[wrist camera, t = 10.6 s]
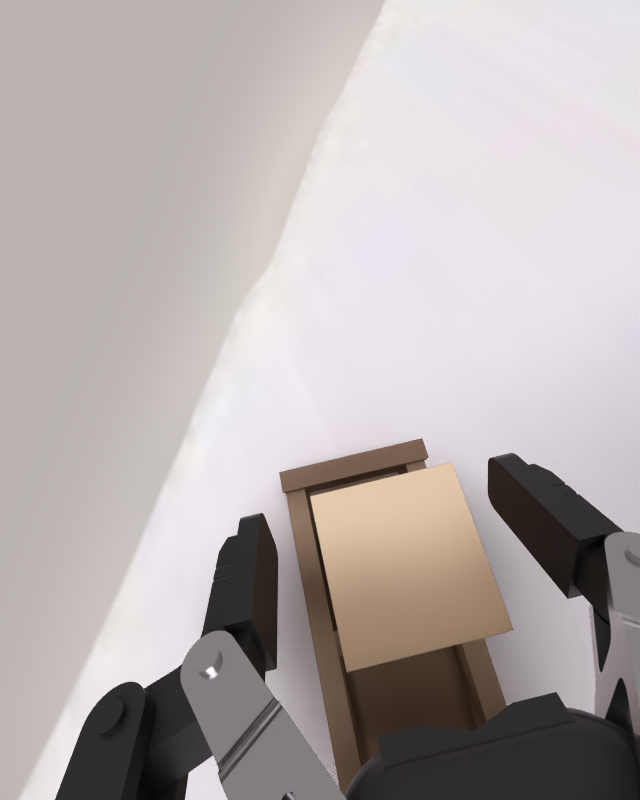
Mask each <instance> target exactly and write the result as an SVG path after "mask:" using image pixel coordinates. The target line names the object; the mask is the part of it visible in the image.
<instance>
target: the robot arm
mask: <svg viewBox="0 0 640 800" xmlns="http://www.w3.org/2000/svg"><path fill="white" fill-rule="evenodd" d="M488 496H489V499H490V502H491V504H492V506H493V508H494V509H495V511H496V512H497V513H498V514H499V515H500V517H501V518H502V519H503V520H504V522H505V523H506V524H507V525H508V526H509V528H510V529H511V530H512V531H513V532H514V534H515V535H516V536H517V537H518V539H519V540H520V541H521V542H522V543H523V545H524V546H525V547H526V548H527V550H528V551H529V552H530V553H531V554H532V556H533V557H534V558H535V559H536V561H537V562H538V563H539V564H540V565H541V567H542V568H543V569H544V570H545V572H546V573H547V574H548V575H549V576H550V578H551V579H552V580H553V581H554V582H555V584H556V585H557V586H558V587H559V589H560V590H561V591H562V592H563V593H564V595H565V596H566V597H567V598H568V599H569V598H573V597H577V596H581V595H583V596H584V597H585V598H586V599H587V600H588V601H589V602H590V607H589V613H590V623H591V634H592V644H593V654H594V665H595V675H596V692H595V715H594V714H591V713H588V712H585V711H581V710H577V709H573V708H566V707H565V706H564V704H563V702H562V701H561V699H560V697H559V696H558V694H557V693H556V692H555V693H551V694H547V695H543V696H539V697H535V698H531V699H527V700H523V701H519V702H515V703H512V704H510V705H509V706H508V707H506V708H505V709H503V710H502V711H501V712H499V713H498V714H496V715H495V716H494V717H492V718H491V719H490V720H488V721H487V722H485V723H484V724H483V725H481V726H480V727H478V728H477V729H475V730H459V729H450V728H440V727H430V726H418V727H414V728H410V729H406V730H402V731H398V732H394V733H390V734H386V735H381V736H377V737H378V742H379V747H380V752H378V753H377V754H375V755H374V756H373V757H371V758H370V759H369V760H368V761H367V762H366V763H365V764H364V765H363V766H362V768H361V769H360V770H359V771H358V773H357V774H356V775H355V777H354V778H353V780H352V782H351V783H350V785H349V787H348V789H347V790H346V793H345V795H343V794H342V792H341V791H340V789H339V788H338V786H337V785H336V783H335V782H334V780H333V779H332V778H331V776H330V775H329V773H328V772H327V770H326V769H325V767H324V766H323V764H322V763H321V762H320V760H319V759H318V757H317V756H316V754H315V753H314V751H313V750H312V748H311V747H310V746H309V744H308V743H307V741H306V740H305V738H304V737H303V735H302V734H301V733H300V731H299V730H298V728H297V727H296V725H295V724H294V722H293V721H292V719H291V718H290V717H289V715H288V714H287V712H286V711H285V709H284V708H283V707H282V705H281V704H280V703H279V701H277V700H276V699H275V697H274V696H273V695H272V693H271V692H270V690H269V689H268V687H267V686H266V684H265V672H266V671H270V670H274V669H277V604H278V555H277V549H276V545H275V542H274V539H273V537H272V534H271V532H270V529H269V527H268V524H267V521H266V519H265V516H264V514H263V513H260V514H255V515H251V516H247V517H243V518H241V519H240V522H239V528H238V534H237V535H236V536H232V537H228V538H227V540H226V541H225V543H224V545H223V546H222V548H221V550H220V551H219V555H218V560H217V564H216V570H215V574H214V579H213V580H214V582H213V584H212V588H211V593H210V598H209V603H208V608H207V612H206V617H205V622H204V627H203V631H202V635H201V638H200V639H199V640H198V641H197V642H196V643H195V644H194V645H193V646H192V648H191V649H190V650H189V652H188V653H187V655H186V657H185V659H184V662H183V664H182V665H180V666H179V667H178V668H177V669H175V670H174V671H172V672H170V673H169V674H167V675H166V676H164V677H162V678H161V679H159V680H157V681H156V682H154V683H153V684H151V685H149V686H148V687H146V688H144V689H143V687H142V686H141V685H140V684H138V683H136V682H126V683H123V684H120V685H118V686H117V687H115V688H113V689H112V690H110V691H109V692H108V693H107V694H106V695H105V696H103V697H102V698H101V700H100V701H99V702H98V703H97V704H96V705H95V707H94V708H93V709H92V711H91V712H90V714H89V715H88V717H87V719H86V721H85V723H84V725H83V727H82V730H81V732H80V735H79V738H78V740H77V743H76V746H75V748H74V751H73V753H72V756H71V759H70V761H69V764H68V767H67V769H66V772H65V775H64V777H63V780H62V783H61V785H60V788H59V791H58V793H57V796H56V799H55V800H185V794H186V787H187V780H188V773H189V772H190V771H192V770H193V769H194V768H196V767H197V766H198V765H200V764H201V763H203V762H204V761H205V760H207V759H208V758H210V757H211V756H212V755H213V756H214V758H215V760H216V762H217V765H218V768H219V772H218V775H219V779H220V782H221V784H222V787H223V789H224V792H225V794H226V796H227V799H228V800H640V534H637V533H632V532H624V531H623V530H622V529H620V528H619V527H618V526H617V525H615V524H614V523H613V522H612V521H611V520H609V519H608V518H607V517H606V516H605V515H603V514H602V513H601V512H600V511H598V510H597V509H596V508H595V507H594V506H592V505H591V504H590V503H589V502H588V501H586V500H585V499H584V498H583V497H581V496H580V495H579V494H578V495H577V494H576V492H575V491H574V490H573V489H572V488H571V487H569V486H568V485H565V483H564V482H563V481H562V480H561V479H560V478H558V477H557V476H556V475H555V474H554V473H552V472H551V471H549V470H547V469H544V468H542V467H540V466H538V465H536V464H531V465H528V464H527V463H525V462H524V461H523V460H522V459H521V458H520V457H519V456H517V455H516V454H514V453H509V454H505V455H501V456H497V457H493V458H490V459H489V461H488Z"/></svg>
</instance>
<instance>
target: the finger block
mask: <svg viewBox="0 0 640 800" xmlns="http://www.w3.org/2000/svg"><path fill="white" fill-rule="evenodd" d="M310 498H311V503H312V508H313V513H314V518H315V522H316V527H317V532H318V537H319V542H320V546H321V551H322V556H323V561H324V566H325V570H326V575H327V580H328V585H329V590H330V594H331V599H332V604H333V609H334V614H335V618H336V623H337V628H338V633H339V638H340V642H341V647H342V652H343V657H344V662H345V666H346V671H347V672H350V671H354V670H358V669H362V668H366V667H370V666H374V665H378V664H382V663H385V662H389V661H393V660H397V659H401V658H405V657H409V656H413V655H417V654H421V653H425V652H429V651H433V650H437V649H441V648H445V647H449V646H453V645H457V644H461V643H465V642H469V641H473V640H477V639H481V638H485V637H489V636H493V635H497V634H501V633H505V632H509V631H513V627H512V624H511V621H510V619H509V616H508V613H507V611H506V608H505V605H504V602H503V600H502V597H501V594H500V592H499V589H498V586H497V583H496V581H495V578H494V575H493V572H492V570H491V567H490V564H489V562H488V559H487V556H486V553H485V551H484V548H483V545H482V543H481V540H480V537H479V534H478V532H477V529H476V526H475V524H474V521H473V518H472V515H471V513H470V510H469V507H468V504H467V502H466V499H465V496H464V494H463V491H462V488H461V485H460V483H459V480H458V477H457V475H456V472H455V469H454V466H453V464H452V462H451V463H447V464H442V465H438V466H434V467H430V468H426V469H422V470H418V471H413V472H409V473H405V474H401V475H397V476H393V477H389V478H384V479H380V480H376V481H372V482H368V483H364V484H360V485H355V486H351V487H347V488H343V489H339V490H335V491H331V492H326V493H322V494H318V495H314V496H310Z"/></svg>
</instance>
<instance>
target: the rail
mask: <svg viewBox="0 0 640 800" xmlns="http://www.w3.org/2000/svg"><path fill="white" fill-rule="evenodd" d="M427 458H429V457H428V454H427V451H426V448H425V445H424V442H423V439H418V440H413V441H409V442H405V443H401V444H397V445H392V446H388V447H384V448H380V449H376V450H371V451H367V452H363V453H359V454H355V455H350V456H346V457H342V458H338V459H334V460H329V461H325V462H321V463H317V464H313V465H308V466H304V467H300V468H296V469H292V470H287V471H283V472H279V474H280V479H281V485H282V490H283V493H286V496H287V501H288V507H289V512H290V518H291V523H292V529H293V534H294V540H295V545H296V551H297V556H298V562H299V567H300V572H301V578H302V583H303V589H304V594H305V600H306V605H307V611H308V616H309V622H310V627H311V633H312V638H313V644H314V649H315V655H316V660H317V666H318V671H319V677H320V682H321V687H322V693H323V698H324V704H325V709H326V715H327V720H328V726H329V731H330V737H331V742H332V748H333V753H334V759H335V764H336V770H337V775H338V781H339V786H340V791H341V792H342V794H343V795H345V793H346V790H347V789H348V787H349V785H350V783H351V782H352V780H353V778H354V777H355V775H356V774H357V773H358V771H359V770H360V769H361V768H362V766H363V765H364V764H365V763H366V762H367V761H368V760H369V759H370V758H371V757H373V756H374V755H375V754H377V753H378V752H380V747H379V742H378V737H377V736H381V735H386V734H390V733H394V732H398V731H402V730H406V729H410V728H414V727H418V726H430V727H440V728H450V729H459V730H475V729H477V728H478V727H480V726H481V725H483V724H484V723H485V722H487V721H488V720H490V719H491V718H492V717H494V716H495V715H496V714H498V713H499V712H501V711H502V710H503V709H505V708H506V707H507V706H506V703H505V700H504V697H503V694H502V691H501V688H500V685H499V682H498V679H497V676H496V673H495V670H494V667H493V664H492V661H491V658H490V655H489V652H488V649H487V646H486V643H485V640H484V638H481V639H477V640H473V641H469V642H465V643H461V644H457V645H453V646H449V647H445V648H441V649H437V650H433V651H429V652H425V653H421V654H417V655H413V656H409V657H405V658H401V659H397V660H393V661H389V662H385V663H382V664H378V665H374V666H370V667H366V668H362V669H358V670H354V671H350V672H347V671H346V666H345V662H344V657H343V652H342V647H341V642H340V638H339V633H338V628H337V623H336V618H335V614H334V609H333V604H332V599H331V594H330V590H329V585H328V580H327V575H326V570H325V566H324V561H323V556H322V551H321V546H320V542H319V537H318V532H317V527H316V522H315V518H314V513H313V508H312V503H311V498H310V496H314V495H318V494H322V493H326V492H331V491H335V490H339V489H343V488H347V487H351V486H355V485H360V484H364V483H368V482H372V481H376V480H380V479H384V478H389V477H393V476H397V475H401V474H405V473H409V472H413V471H418V470H422V469H426V465H425V462H424V460H426V459H427Z"/></svg>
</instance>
